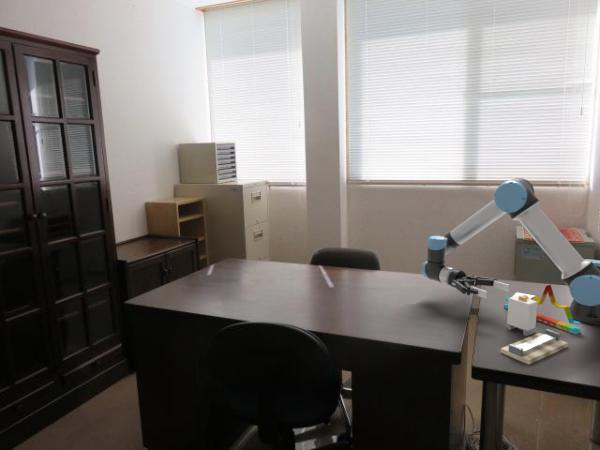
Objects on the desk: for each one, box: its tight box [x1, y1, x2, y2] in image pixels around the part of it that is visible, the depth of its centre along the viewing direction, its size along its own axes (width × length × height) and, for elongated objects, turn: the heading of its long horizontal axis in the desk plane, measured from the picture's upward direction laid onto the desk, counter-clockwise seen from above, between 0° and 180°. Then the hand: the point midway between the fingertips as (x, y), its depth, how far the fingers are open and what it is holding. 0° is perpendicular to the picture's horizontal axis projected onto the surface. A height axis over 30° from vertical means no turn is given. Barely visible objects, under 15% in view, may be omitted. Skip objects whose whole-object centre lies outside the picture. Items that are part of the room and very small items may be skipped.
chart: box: [503, 284, 582, 335], centre depth 176 cm, size 30×3×15 cm, turn 27°
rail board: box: [500, 332, 569, 365], centre depth 153 cm, size 22×10×2 cm, turn 121°
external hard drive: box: [511, 291, 535, 301], centre depth 199 cm, size 2×8×12 cm
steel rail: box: [508, 328, 561, 357], centre depth 152 cm, size 22×4×2 cm, turn 121°
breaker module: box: [506, 295, 538, 337], centre depth 167 cm, size 5×8×13 cm, turn 31°
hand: (497, 291), depth 174 cm, fingers open, 13 cm apart
